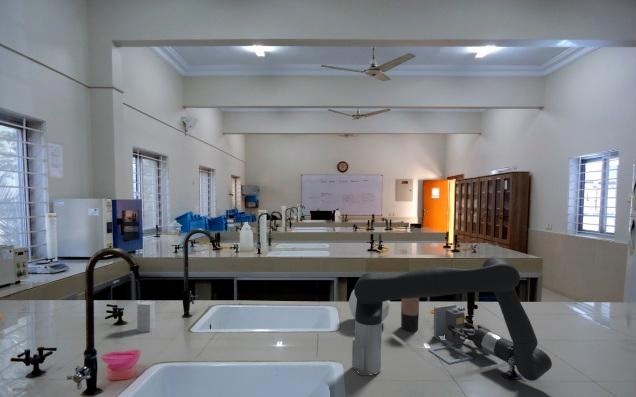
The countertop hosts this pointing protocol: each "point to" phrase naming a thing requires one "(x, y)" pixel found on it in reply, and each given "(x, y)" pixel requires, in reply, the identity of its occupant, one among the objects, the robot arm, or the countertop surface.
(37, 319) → the countertop surface
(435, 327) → the bay
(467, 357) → the blue-grey square frame
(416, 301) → the travel mug
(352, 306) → the polyhedron
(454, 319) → the grey box bottle
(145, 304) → the skincare box
